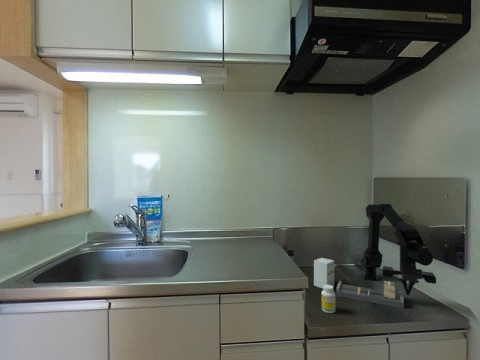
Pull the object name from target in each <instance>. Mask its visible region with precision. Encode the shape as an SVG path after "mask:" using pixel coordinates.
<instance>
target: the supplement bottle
mask: <svg viewBox="0 0 480 360" xmlns="http://www.w3.org/2000/svg"><path fill="white" fill-rule="evenodd" d="M334 287H335V286H332V285H323V288H322V291H321V310H322V312H324V313H326V314H327V313H328V314H333V313H335V312H336V292H335V291H334Z"/></svg>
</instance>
